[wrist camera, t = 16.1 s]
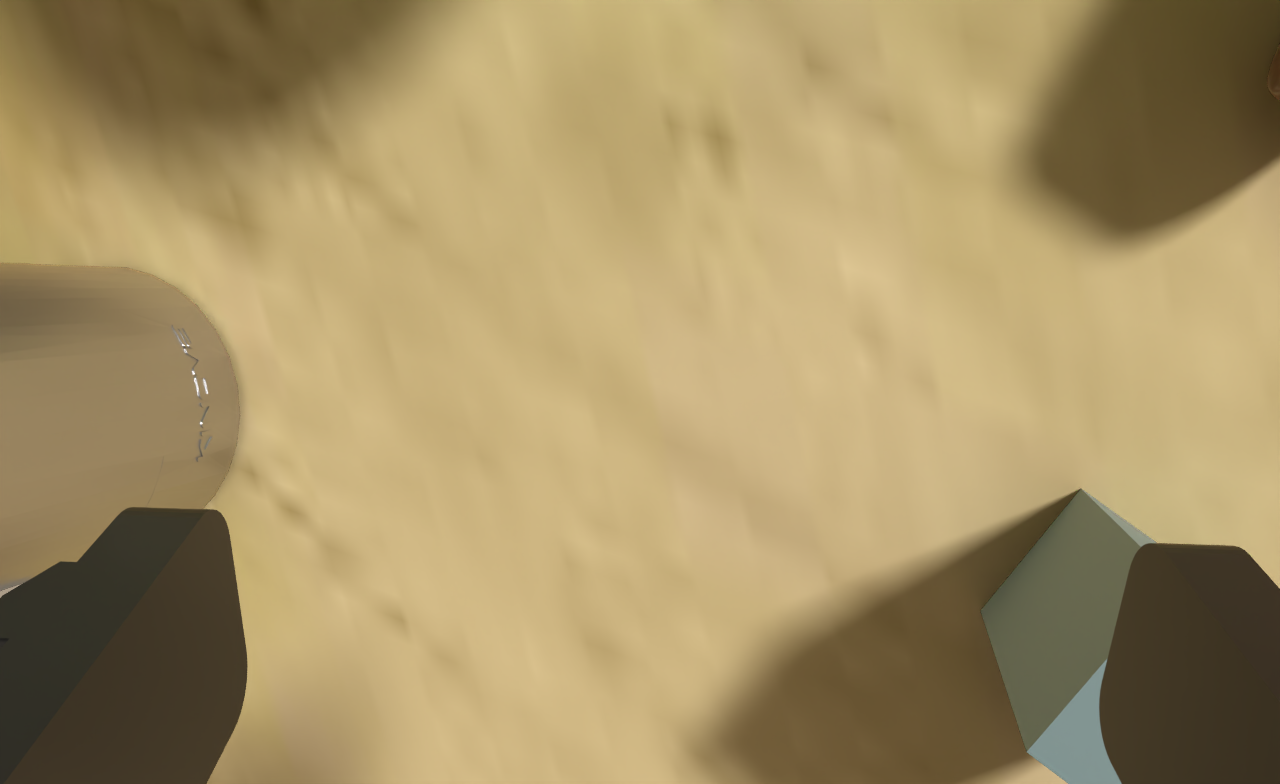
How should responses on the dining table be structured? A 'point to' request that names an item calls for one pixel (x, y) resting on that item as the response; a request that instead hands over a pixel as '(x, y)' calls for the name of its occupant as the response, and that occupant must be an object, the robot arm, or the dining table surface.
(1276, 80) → the tin
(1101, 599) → the carton
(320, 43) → the dining table surface
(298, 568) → the dining table surface
